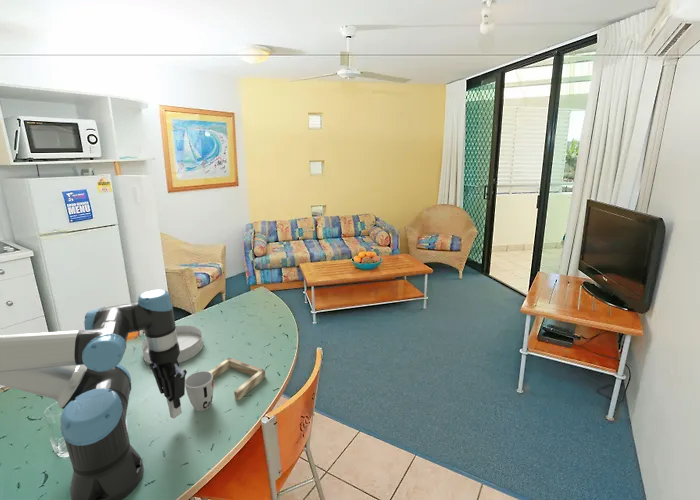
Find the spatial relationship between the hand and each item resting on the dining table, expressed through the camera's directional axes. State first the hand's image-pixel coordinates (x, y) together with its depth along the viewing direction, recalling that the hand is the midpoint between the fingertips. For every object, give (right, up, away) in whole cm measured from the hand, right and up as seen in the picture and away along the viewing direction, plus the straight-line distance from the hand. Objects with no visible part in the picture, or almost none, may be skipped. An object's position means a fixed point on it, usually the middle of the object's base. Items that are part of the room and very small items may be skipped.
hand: (176, 414), depth 108 cm
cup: (+4, -1, +9) cm, 10 cm away
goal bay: (+10, +2, +20) cm, 23 cm away
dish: (-20, +8, +40) cm, 46 cm away
